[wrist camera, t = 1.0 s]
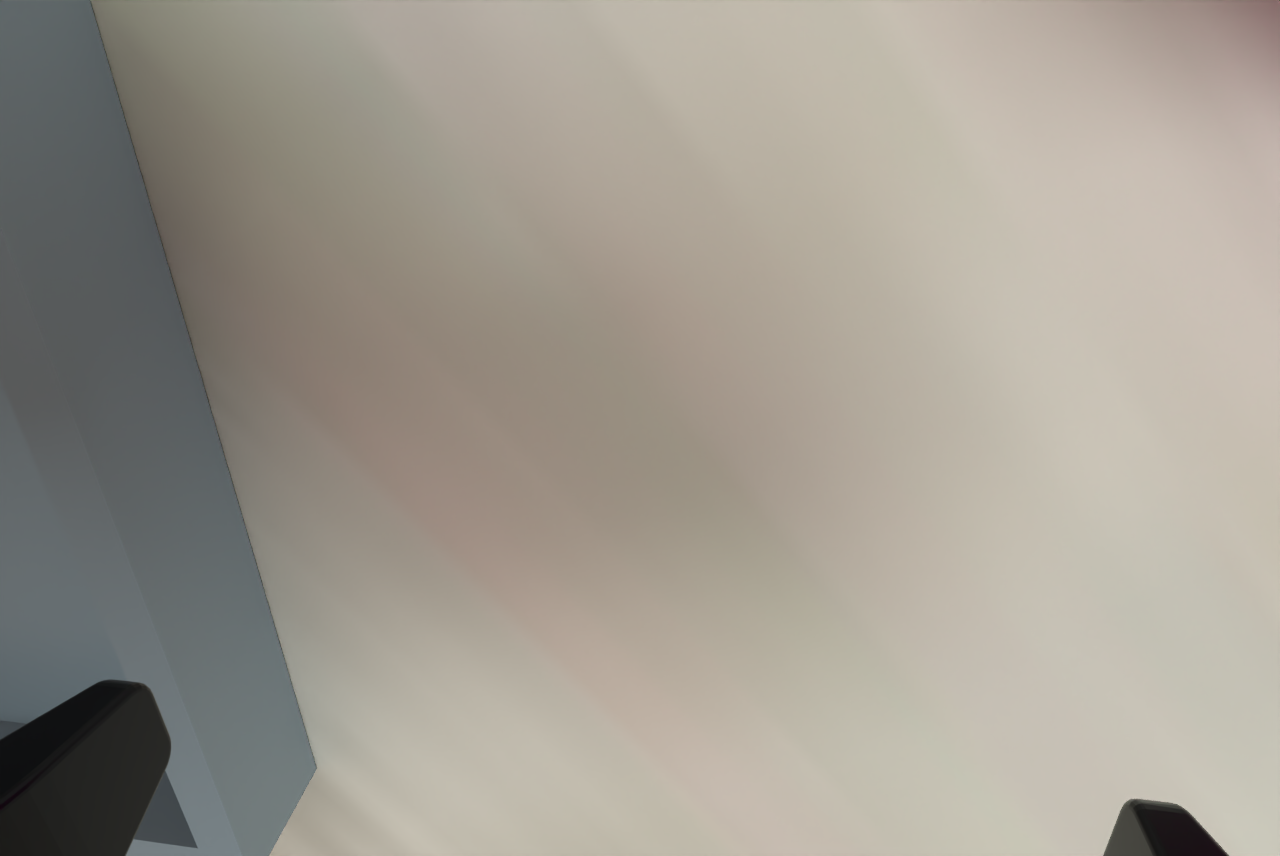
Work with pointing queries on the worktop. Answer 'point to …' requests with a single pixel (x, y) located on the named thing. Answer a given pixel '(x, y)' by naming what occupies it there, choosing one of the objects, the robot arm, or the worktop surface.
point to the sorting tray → (122, 464)
